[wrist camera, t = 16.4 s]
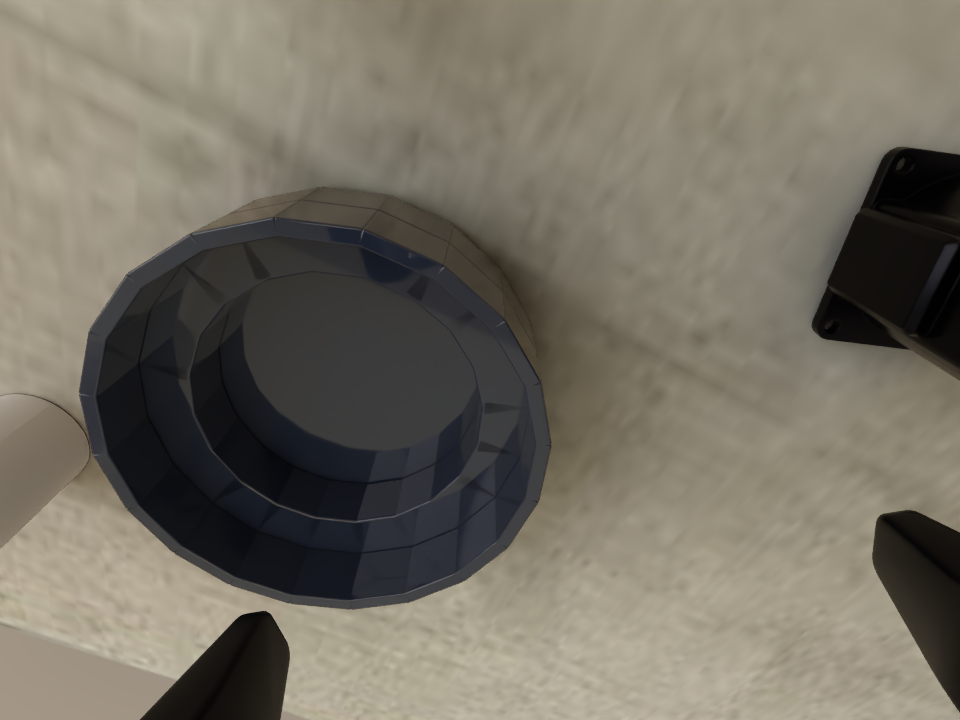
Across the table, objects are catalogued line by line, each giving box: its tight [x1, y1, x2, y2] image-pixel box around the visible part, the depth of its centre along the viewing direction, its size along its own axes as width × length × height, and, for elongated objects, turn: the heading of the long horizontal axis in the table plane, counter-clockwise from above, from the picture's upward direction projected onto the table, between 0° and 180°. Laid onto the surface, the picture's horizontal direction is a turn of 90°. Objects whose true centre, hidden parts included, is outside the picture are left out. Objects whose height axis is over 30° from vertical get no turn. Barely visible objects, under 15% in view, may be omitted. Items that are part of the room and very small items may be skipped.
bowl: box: [79, 187, 551, 610], centre depth 19 cm, size 14×14×5 cm
